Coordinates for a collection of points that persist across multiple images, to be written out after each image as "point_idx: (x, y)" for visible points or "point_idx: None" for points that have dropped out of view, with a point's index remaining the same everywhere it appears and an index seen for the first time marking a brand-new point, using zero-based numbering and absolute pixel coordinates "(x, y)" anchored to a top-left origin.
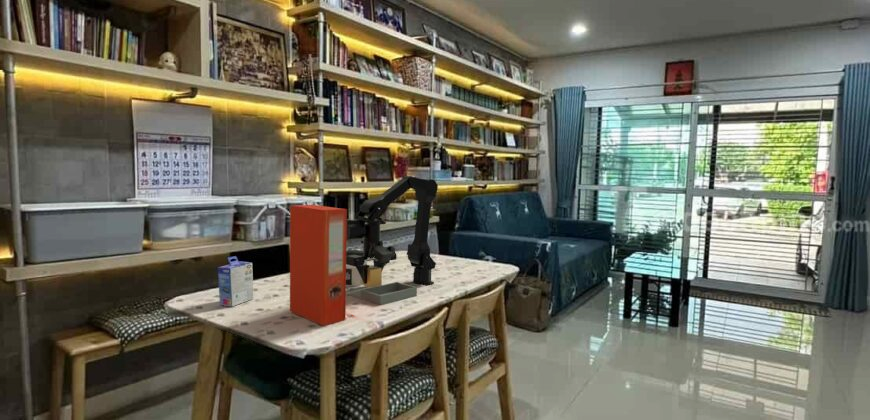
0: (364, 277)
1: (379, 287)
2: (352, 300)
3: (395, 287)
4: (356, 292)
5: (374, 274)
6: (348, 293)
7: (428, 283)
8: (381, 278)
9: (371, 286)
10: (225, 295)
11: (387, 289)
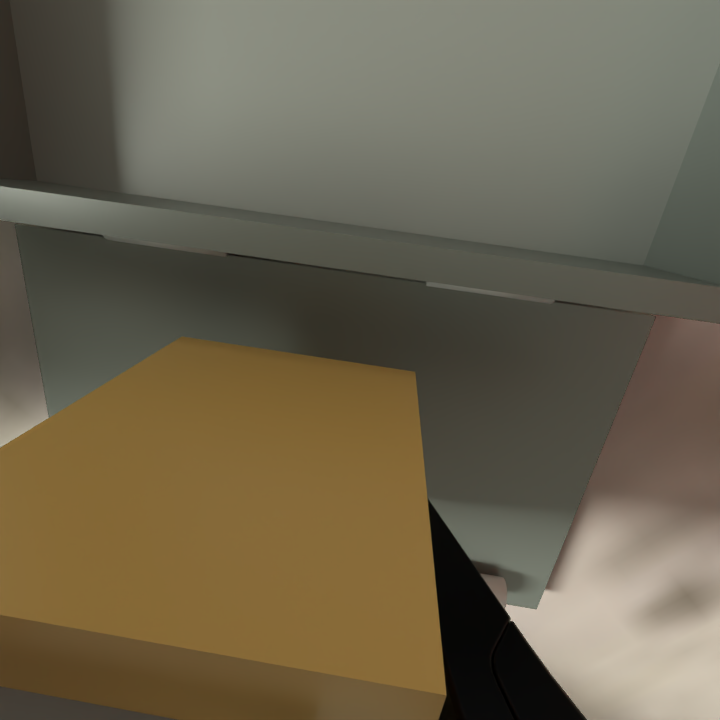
0: (472, 580)
1: (335, 232)
2: (694, 364)
3: (17, 180)
4: (472, 489)
5: (269, 491)
6: (559, 526)
7: None
8: (114, 379)
9: (389, 372)
10: None
11: (182, 203)
